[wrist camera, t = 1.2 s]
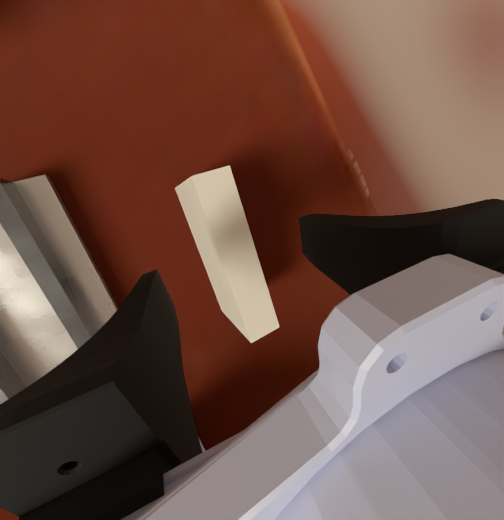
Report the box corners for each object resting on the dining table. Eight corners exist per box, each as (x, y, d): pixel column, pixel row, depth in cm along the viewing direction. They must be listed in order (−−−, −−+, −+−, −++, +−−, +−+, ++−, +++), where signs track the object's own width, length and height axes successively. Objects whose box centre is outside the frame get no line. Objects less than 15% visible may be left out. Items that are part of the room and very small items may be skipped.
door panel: (243, 299, 25) (279, 326, 19) (221, 310, 24) (251, 343, 18) (202, 180, 22) (229, 165, 15) (174, 188, 21) (191, 176, 14)
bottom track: (146, 360, 22) (147, 380, 19) (11, 429, 18) (-10, 466, 16) (49, 176, 17) (33, 169, 14) (-155, 225, 14) (-226, 227, 11)
